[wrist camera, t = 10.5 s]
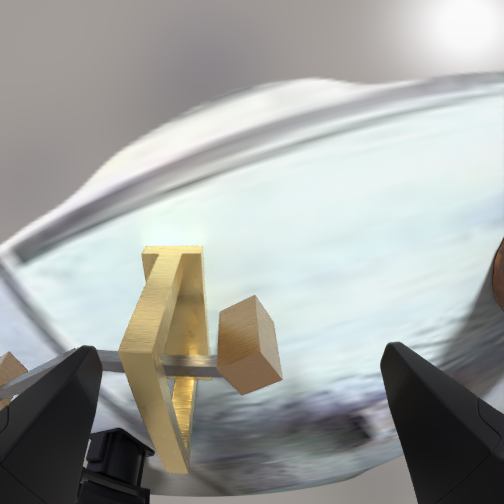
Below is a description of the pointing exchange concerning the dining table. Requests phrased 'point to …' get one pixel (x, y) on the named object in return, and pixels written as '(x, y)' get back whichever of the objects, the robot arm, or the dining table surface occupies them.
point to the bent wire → (188, 356)
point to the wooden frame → (167, 347)
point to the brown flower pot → (499, 277)
